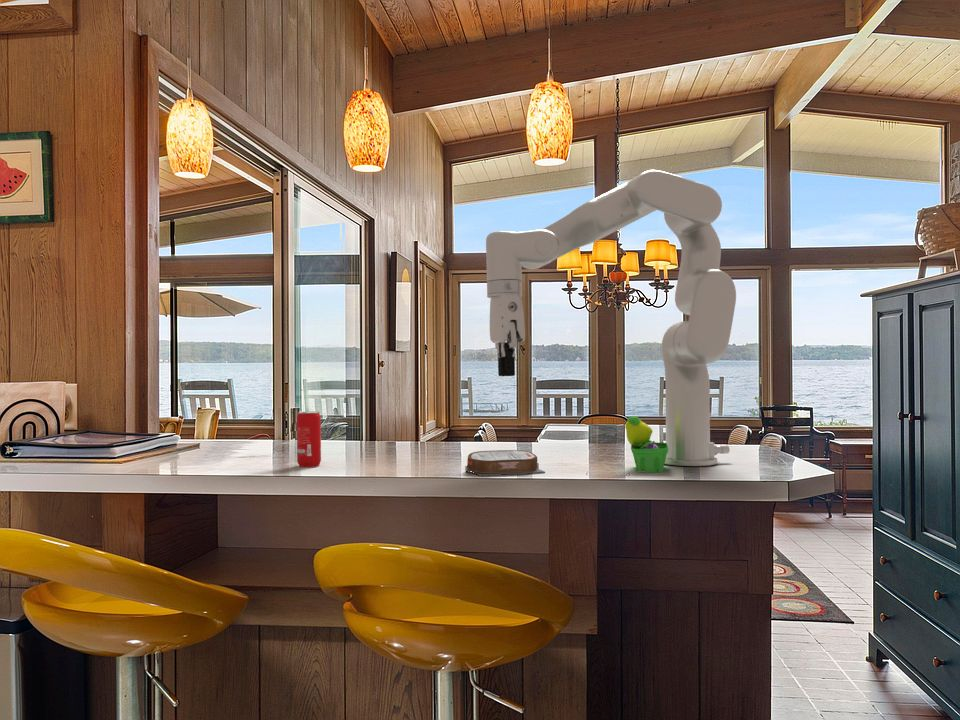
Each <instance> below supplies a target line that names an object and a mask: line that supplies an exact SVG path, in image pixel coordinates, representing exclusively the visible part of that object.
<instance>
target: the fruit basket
mask: <svg viewBox="0 0 960 720" xmlns="http://www.w3.org/2000/svg"><path fill="white" fill-rule="evenodd" d="M624 426H625V430H626V438H627V441H628V443H629V444H630V450H631V453H632V455H633V459H634V464H635V468H636V472H637V471H647V472H646V473H663V472H664V469H665V465H666V464H665V459H666V455H667V453H668V450H669V448H668V445H667V443H666V442H655V441H654V440H651V437H652V434H653V429H652V428H651V426H649V425H648V424H647V423H646V422H644V421H643V420H641V419H640V418H639V417H638V416H637V415H632V416H629V417H627V420H626V422H625V425H624Z"/></svg>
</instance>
